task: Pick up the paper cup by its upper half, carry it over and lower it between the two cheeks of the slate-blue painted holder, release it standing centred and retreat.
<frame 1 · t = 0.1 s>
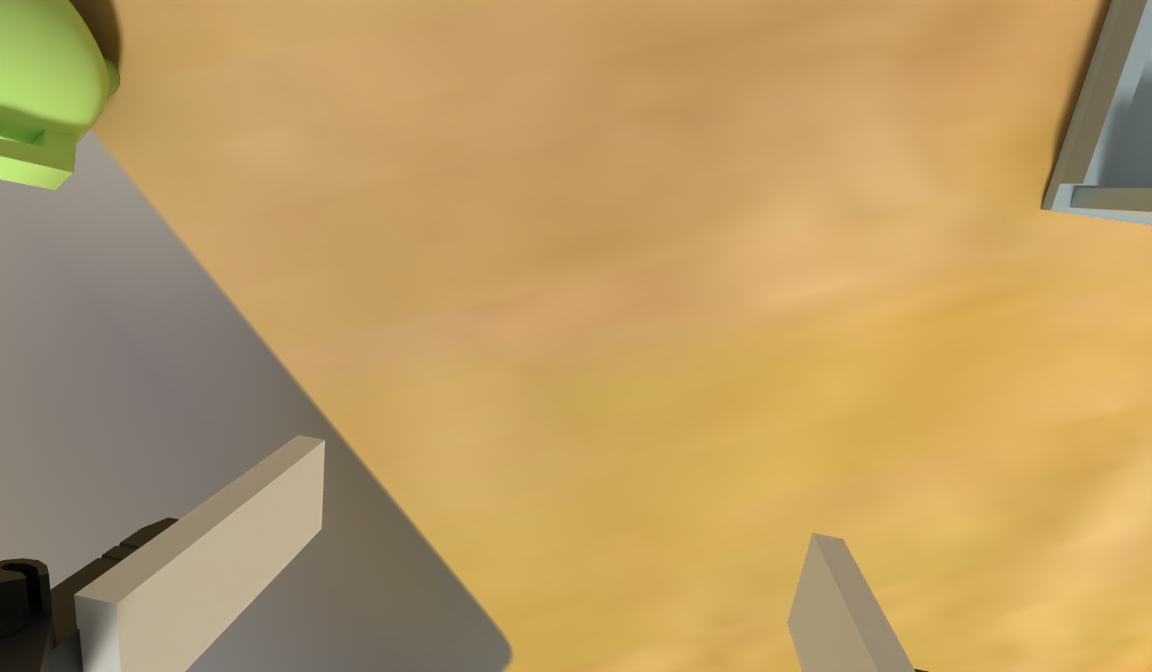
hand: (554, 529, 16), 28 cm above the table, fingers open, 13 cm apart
teapot: (50, 67, 44), on the table
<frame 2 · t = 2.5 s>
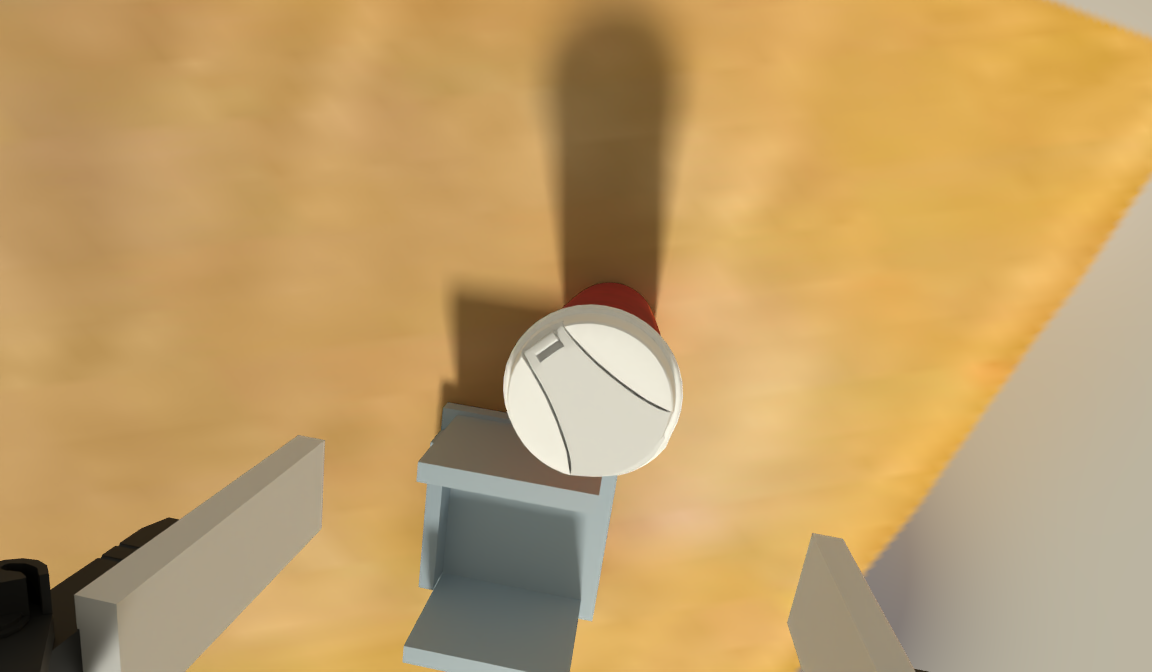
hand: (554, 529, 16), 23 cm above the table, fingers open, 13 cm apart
holder: (523, 510, 42), on the table
paper cup: (610, 325, 38), on the table
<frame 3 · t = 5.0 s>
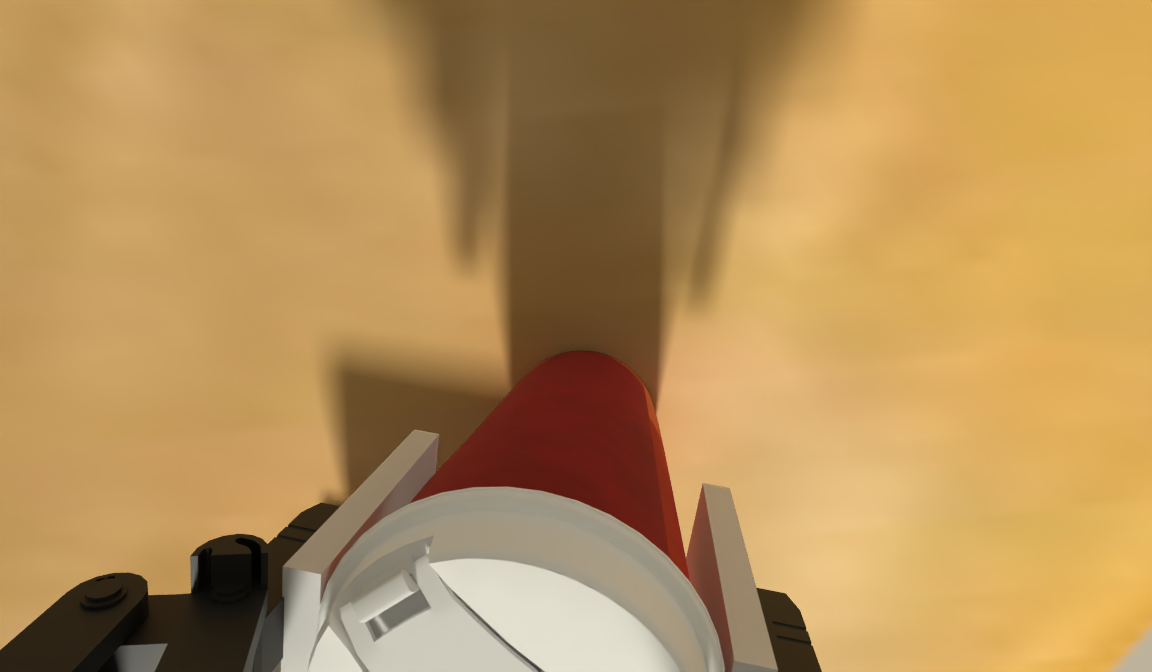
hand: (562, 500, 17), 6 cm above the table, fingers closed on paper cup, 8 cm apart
paper cup: (584, 417, 24), on the table, touching gripper
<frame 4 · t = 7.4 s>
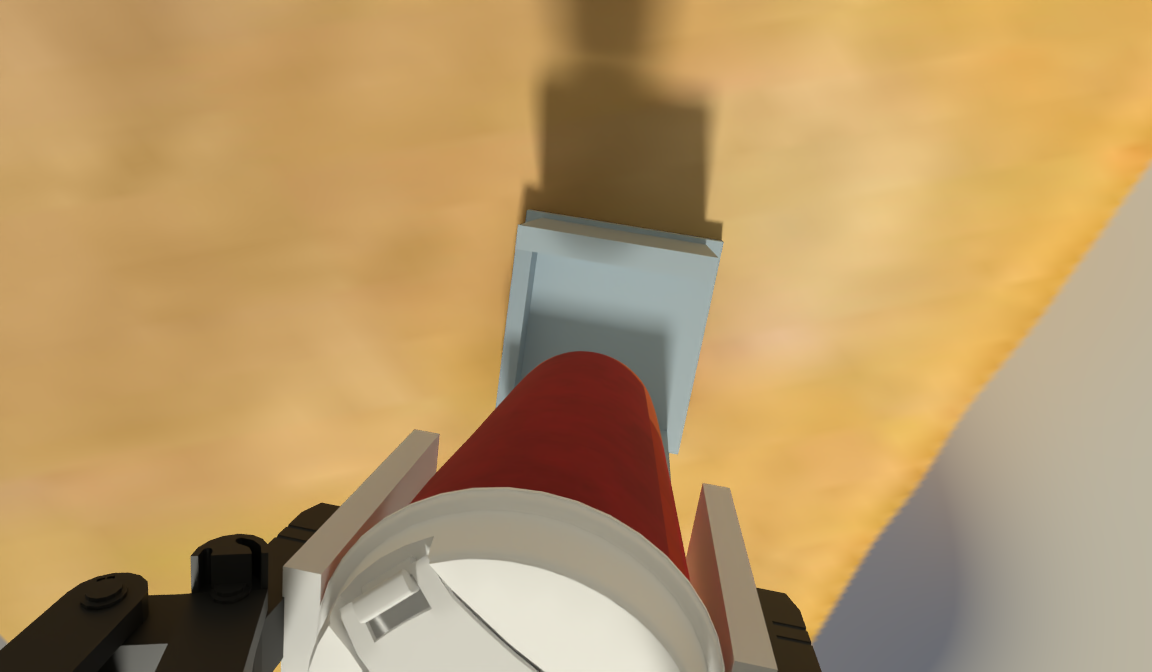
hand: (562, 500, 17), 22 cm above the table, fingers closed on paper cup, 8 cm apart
holder: (606, 332, 39), on the table
paper cup: (585, 418, 24), point 16 cm above the table, touching gripper
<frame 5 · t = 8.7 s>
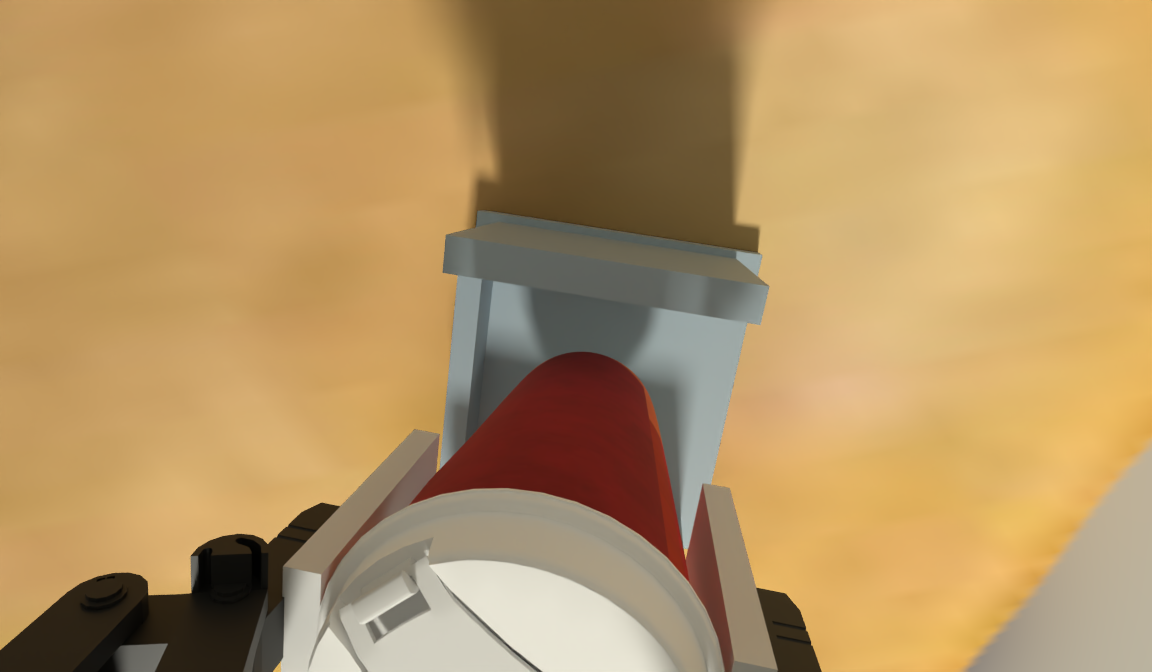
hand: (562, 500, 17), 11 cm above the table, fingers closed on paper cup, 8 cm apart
holder: (594, 382, 28), on the table
paper cup: (584, 418, 24), point 4 cm above the table, touching gripper
when the fingers open (8 cm above the table, at t = 10.0 s): paper cup stays where it is, resting on holder.
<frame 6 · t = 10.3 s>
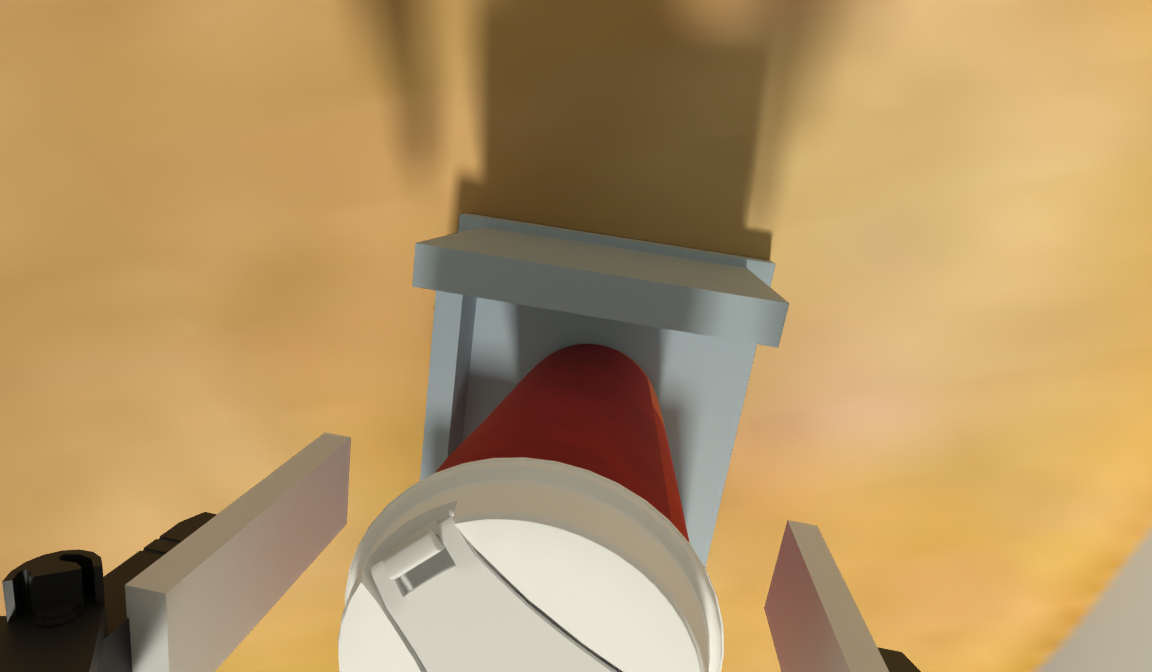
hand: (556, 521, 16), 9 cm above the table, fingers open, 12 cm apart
holder: (589, 402, 25), on the table
paper cup: (590, 408, 24), point 1 cm above the table, touching holder
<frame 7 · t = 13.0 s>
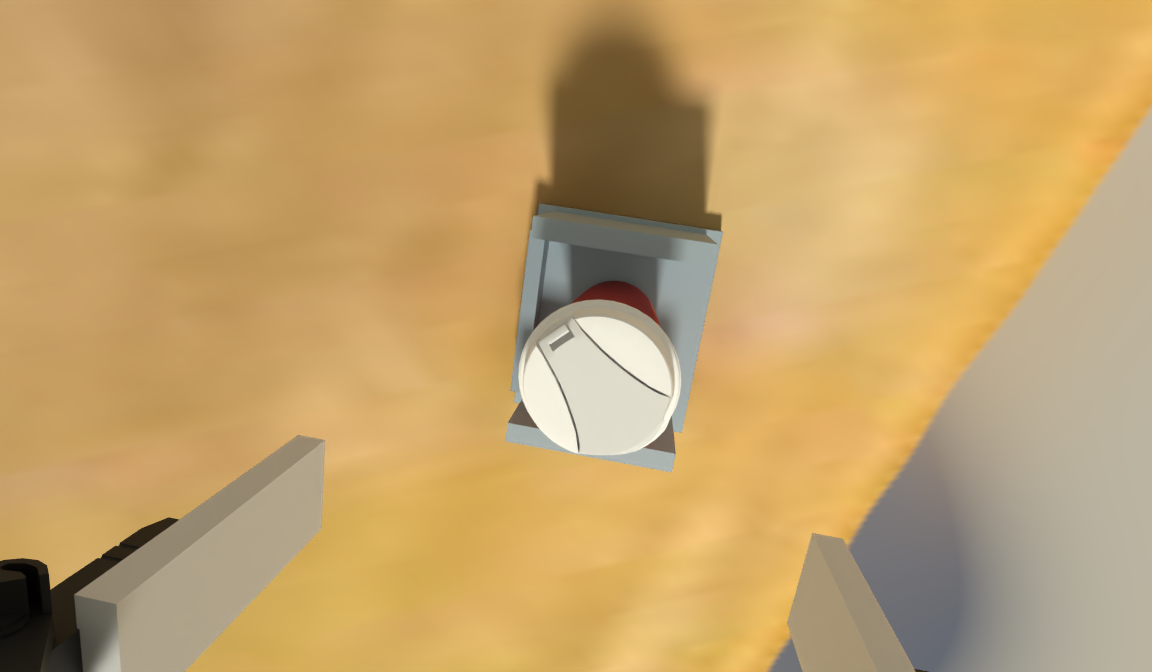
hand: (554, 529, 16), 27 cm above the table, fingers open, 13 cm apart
holder: (613, 318, 41), on the table
paper cup: (614, 321, 41), point 1 cm above the table, touching holder
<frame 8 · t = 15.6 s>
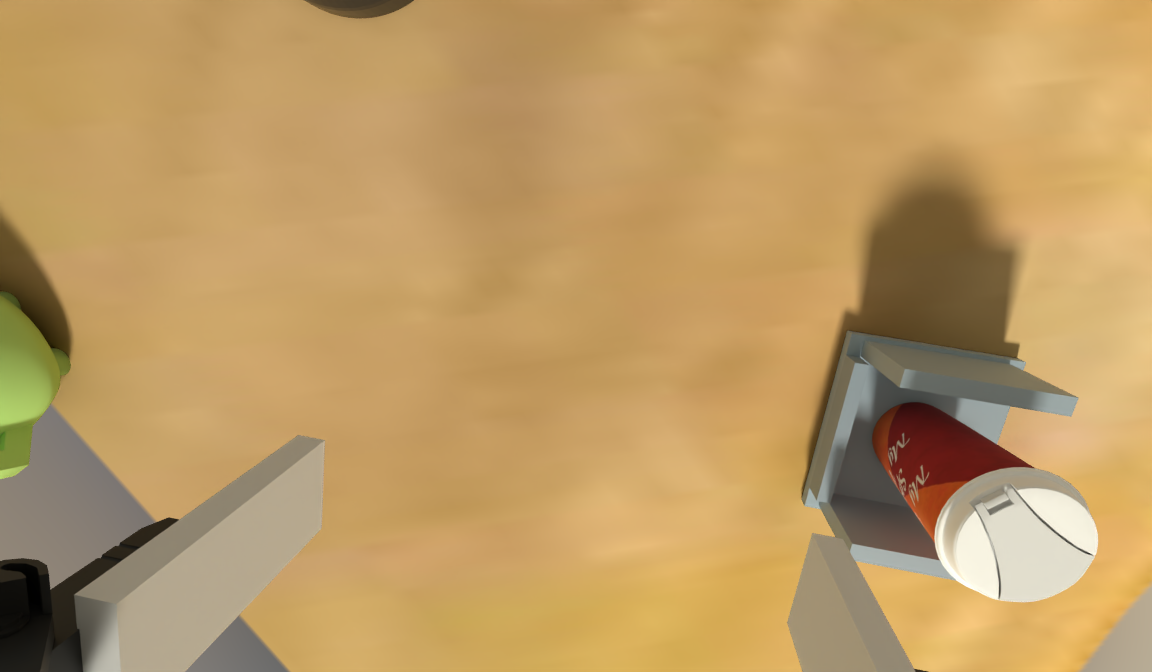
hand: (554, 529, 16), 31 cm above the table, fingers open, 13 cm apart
holder: (904, 432, 45), on the table
teapot: (13, 351, 53), on the table
paper cup: (910, 436, 44), point 1 cm above the table, touching holder
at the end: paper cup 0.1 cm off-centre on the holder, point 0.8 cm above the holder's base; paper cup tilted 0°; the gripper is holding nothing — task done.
